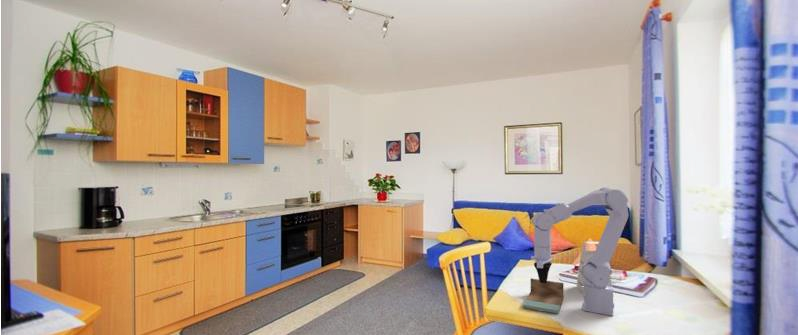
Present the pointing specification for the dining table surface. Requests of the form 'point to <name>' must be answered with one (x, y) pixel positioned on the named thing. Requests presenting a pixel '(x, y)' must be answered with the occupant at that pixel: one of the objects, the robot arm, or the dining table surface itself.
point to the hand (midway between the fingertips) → (543, 282)
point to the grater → (583, 260)
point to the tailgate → (541, 306)
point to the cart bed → (546, 292)
